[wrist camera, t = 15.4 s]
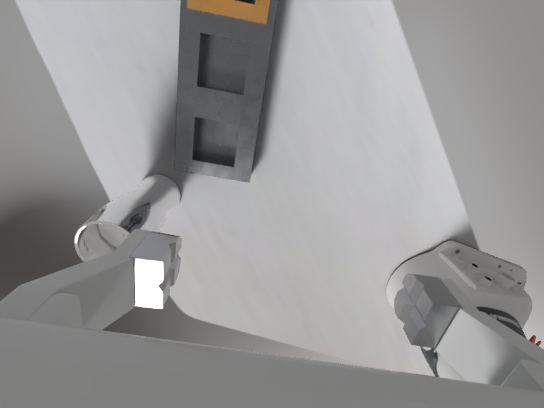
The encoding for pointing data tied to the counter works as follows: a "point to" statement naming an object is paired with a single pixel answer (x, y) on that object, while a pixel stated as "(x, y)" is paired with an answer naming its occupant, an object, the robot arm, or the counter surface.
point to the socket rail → (221, 84)
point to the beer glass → (127, 217)
